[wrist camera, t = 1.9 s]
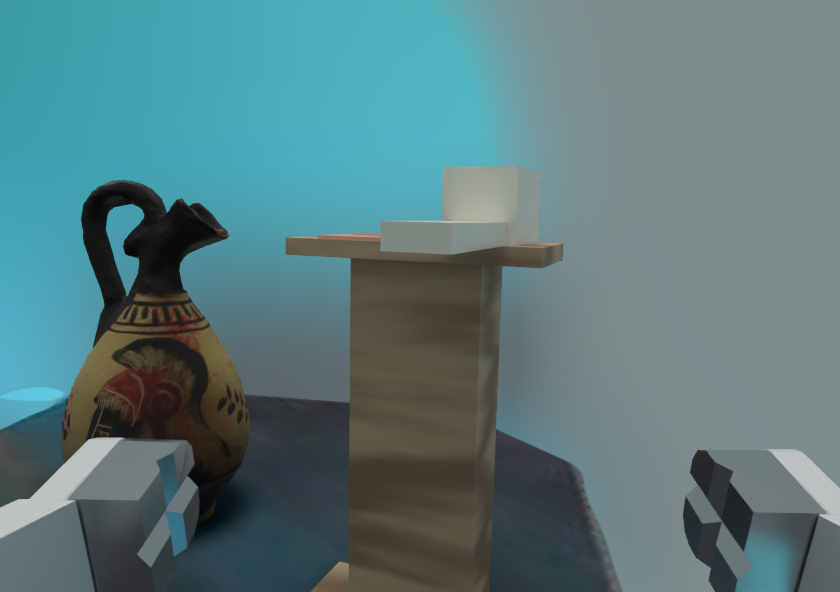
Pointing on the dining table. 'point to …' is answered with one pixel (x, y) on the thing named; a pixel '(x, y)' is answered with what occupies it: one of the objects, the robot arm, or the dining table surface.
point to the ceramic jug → (157, 346)
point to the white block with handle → (474, 213)
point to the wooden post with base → (421, 411)
